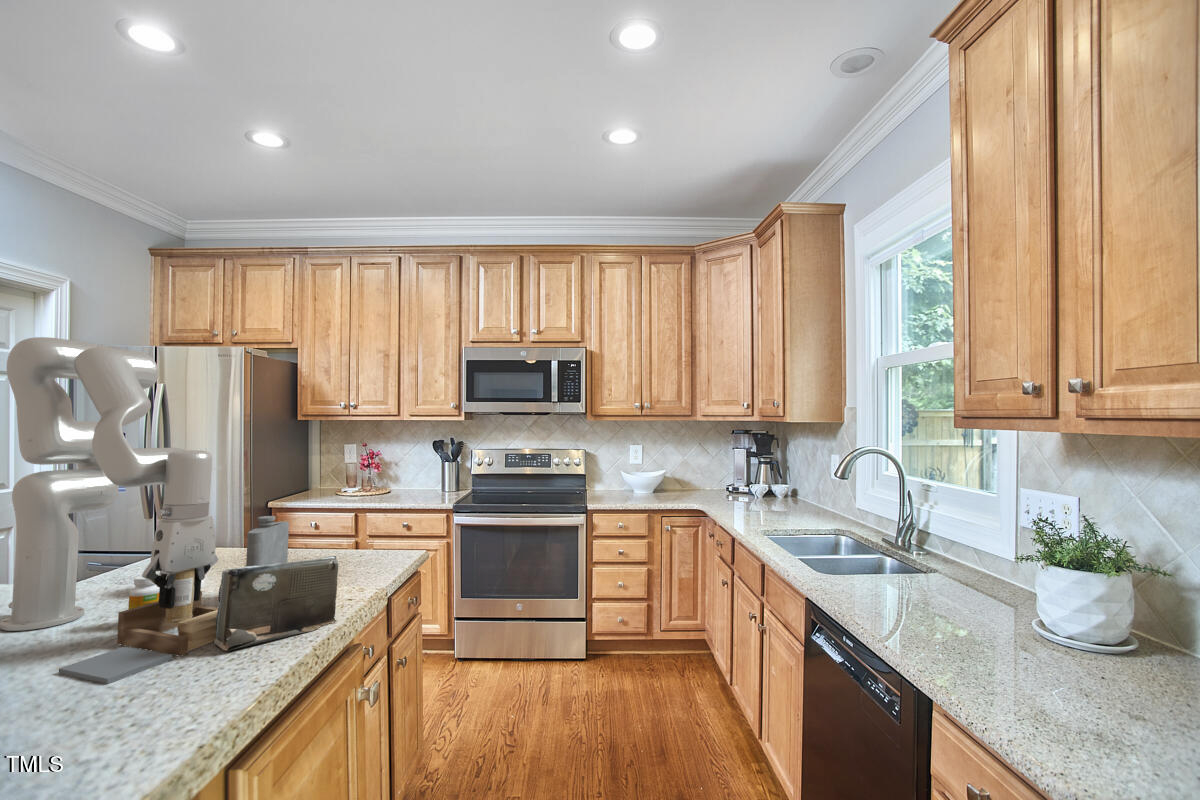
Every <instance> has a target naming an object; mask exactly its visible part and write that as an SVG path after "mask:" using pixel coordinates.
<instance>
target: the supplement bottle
mask: <svg viewBox="0 0 1200 800" xmlns="http://www.w3.org/2000/svg"><path fill="white" fill-rule="evenodd" d="M133 585H134V587H133V588H131V589H130V591H129V595H128V609H127V610H129V609H132V608H136V607H139V606H143V605H147V604H150V603H154V602H158V601H159V590H160V587H157V586H156V584H154V583H153V582H152V581H151V580H148V579H146V578H144V577H142V575H139V576H136V577H134V578H133Z"/></svg>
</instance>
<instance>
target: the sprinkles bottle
mask: <svg viewBox="0 0 1200 800" xmlns="http://www.w3.org/2000/svg"><path fill="white" fill-rule="evenodd" d="M194 575H195V569H191V570H187V571H182V572H178V573H176V575H175V578H174V582H173V585H172V587H174V588H175V601H174V607H173V608H171V609H167V608H166V617H165V622H167V623H178V622H181V621H184V620H188V619H191V618H192V616H193V615H192V606H193V599H194Z"/></svg>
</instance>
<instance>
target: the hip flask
mask: <svg viewBox="0 0 1200 800" xmlns="http://www.w3.org/2000/svg"><path fill="white" fill-rule="evenodd" d="M257 521H258V522H259V523H258V527H256V528H254V529H251V530H249V531H248V532H247V536H246V537H247V538H246V539H247V541H246V562H245V563H246V564H245V565H246V566H245V567H248V566H263V565H271V564H280V563H288V558H289V557H288V554H289V552H288V550H289V548H288V547H289V531H290V530H289V529H290V524H289V523H290V522H289V521H276V516H275V515H264V516H258V517H257Z"/></svg>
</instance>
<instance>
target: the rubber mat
mask: <svg viewBox="0 0 1200 800" xmlns="http://www.w3.org/2000/svg"><path fill="white" fill-rule="evenodd" d="M172 660H173V655H171V654H166V653H160V652H155V651H149V650H144V649H139V648H133V647H128V646H122V647H119V648H116V649H114V650H111V651H110V650H109V651H107V652H104V653H102V654H98V655H95V656H92V657H90V658H86V659H83V660H80V661H78V662H74V663H70V664H68V665H66V666H62V667H59V668H58V674H59V675H60V674H61V675H64V676H69V677H74V678H79V679H82V680H86V681H87V680H88V681H92V682H96V683H101V684H106V685H108V684H112V683H114V682H116V681H119V680H121V679H125V678H126V677H127V678H128V677H130V676H132V675H135V674H137V673H140V672H143V671H146V670H149V669H152V668H153V666H154V667H156V666H159V665H161V664H164V663H167V662H170V661H172Z"/></svg>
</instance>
